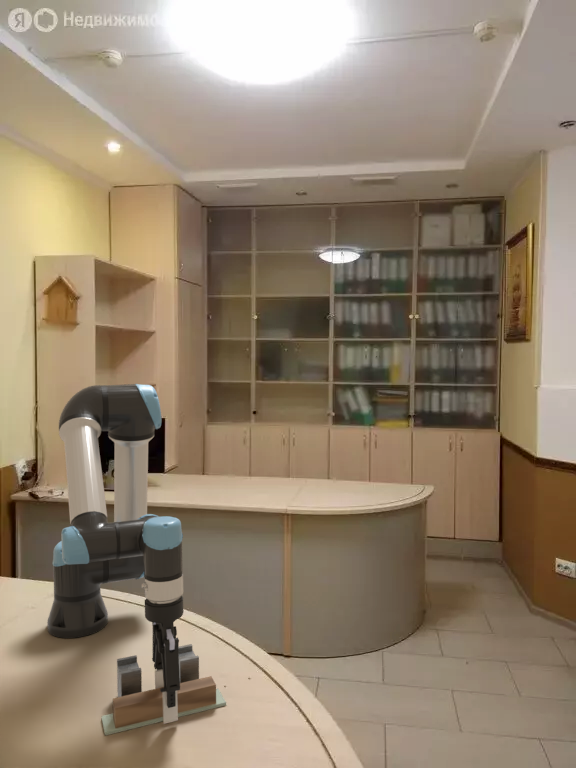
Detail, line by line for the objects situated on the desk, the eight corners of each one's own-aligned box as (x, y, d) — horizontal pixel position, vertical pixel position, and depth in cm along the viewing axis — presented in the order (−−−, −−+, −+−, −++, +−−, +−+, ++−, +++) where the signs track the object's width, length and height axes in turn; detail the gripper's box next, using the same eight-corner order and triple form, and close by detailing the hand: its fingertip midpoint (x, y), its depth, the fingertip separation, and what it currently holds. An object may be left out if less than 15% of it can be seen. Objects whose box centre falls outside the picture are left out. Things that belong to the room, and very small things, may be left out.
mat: (101, 719, 118) (101, 716, 118) (218, 691, 128) (218, 688, 128) (104, 735, 113) (104, 732, 113) (226, 705, 123) (226, 702, 123)
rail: (113, 718, 117) (112, 698, 117) (211, 694, 126) (211, 676, 125) (115, 728, 114) (115, 708, 114) (216, 703, 122) (216, 684, 122)
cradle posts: (117, 695, 126) (116, 659, 126) (191, 678, 132) (191, 643, 132) (121, 712, 120) (121, 673, 120) (199, 693, 127) (198, 657, 126)
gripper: (136, 583, 126) (138, 690, 127) (154, 619, 108) (157, 744, 109) (171, 578, 129) (173, 683, 130) (195, 611, 111) (197, 733, 112)
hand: (166, 710), depth 119 cm, fingers open, 7 cm apart
